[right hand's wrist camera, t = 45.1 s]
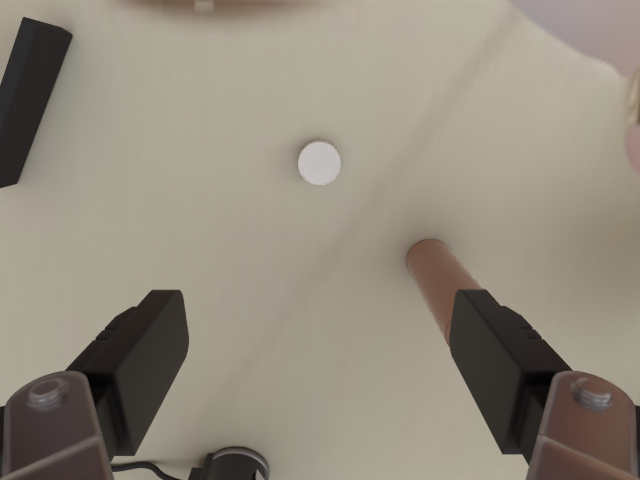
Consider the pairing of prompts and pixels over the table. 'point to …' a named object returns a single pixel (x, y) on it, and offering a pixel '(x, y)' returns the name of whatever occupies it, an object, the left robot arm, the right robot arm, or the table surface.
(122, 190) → the table surface
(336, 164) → the cap
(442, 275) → the bottle
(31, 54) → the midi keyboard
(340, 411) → the table surface
